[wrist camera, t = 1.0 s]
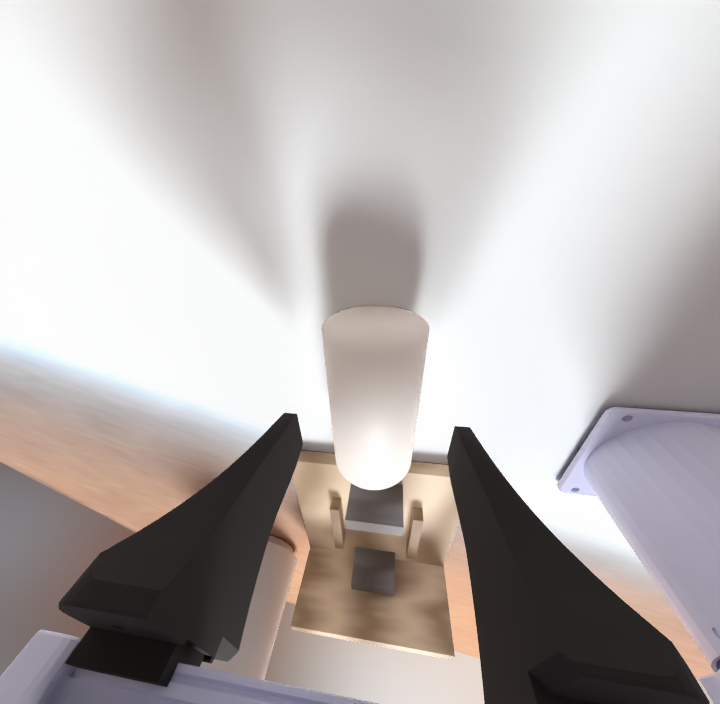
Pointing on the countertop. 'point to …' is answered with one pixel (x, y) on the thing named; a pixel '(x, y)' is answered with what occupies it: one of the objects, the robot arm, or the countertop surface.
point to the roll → (374, 390)
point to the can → (262, 613)
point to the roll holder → (376, 557)
